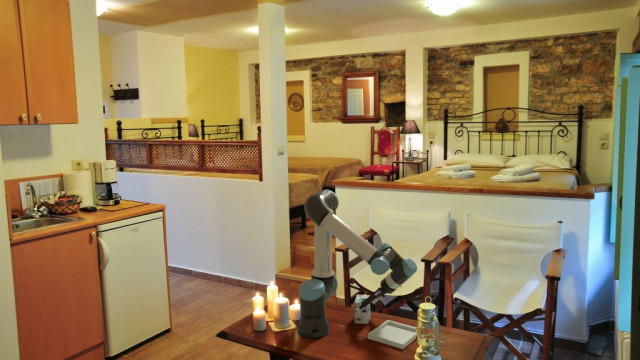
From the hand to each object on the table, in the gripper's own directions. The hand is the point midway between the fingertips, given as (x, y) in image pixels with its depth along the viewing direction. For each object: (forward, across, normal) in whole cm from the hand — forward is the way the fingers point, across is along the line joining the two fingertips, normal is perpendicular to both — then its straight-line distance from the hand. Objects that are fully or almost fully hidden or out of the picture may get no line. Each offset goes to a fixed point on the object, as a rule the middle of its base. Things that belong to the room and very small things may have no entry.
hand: (364, 306), depth 244 cm
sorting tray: (-10, -7, -20) cm, 23 cm away
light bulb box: (+6, 0, -4) cm, 7 cm away
